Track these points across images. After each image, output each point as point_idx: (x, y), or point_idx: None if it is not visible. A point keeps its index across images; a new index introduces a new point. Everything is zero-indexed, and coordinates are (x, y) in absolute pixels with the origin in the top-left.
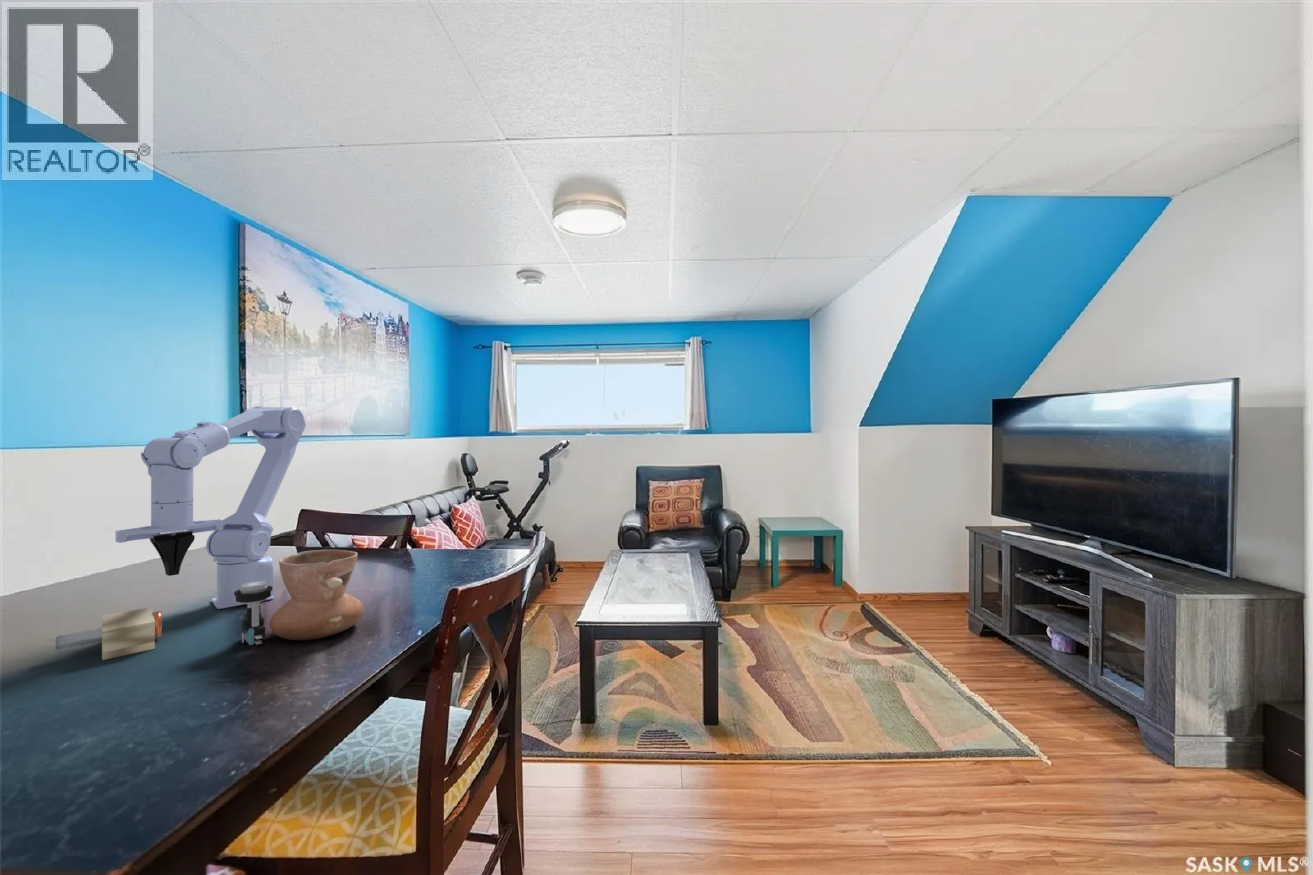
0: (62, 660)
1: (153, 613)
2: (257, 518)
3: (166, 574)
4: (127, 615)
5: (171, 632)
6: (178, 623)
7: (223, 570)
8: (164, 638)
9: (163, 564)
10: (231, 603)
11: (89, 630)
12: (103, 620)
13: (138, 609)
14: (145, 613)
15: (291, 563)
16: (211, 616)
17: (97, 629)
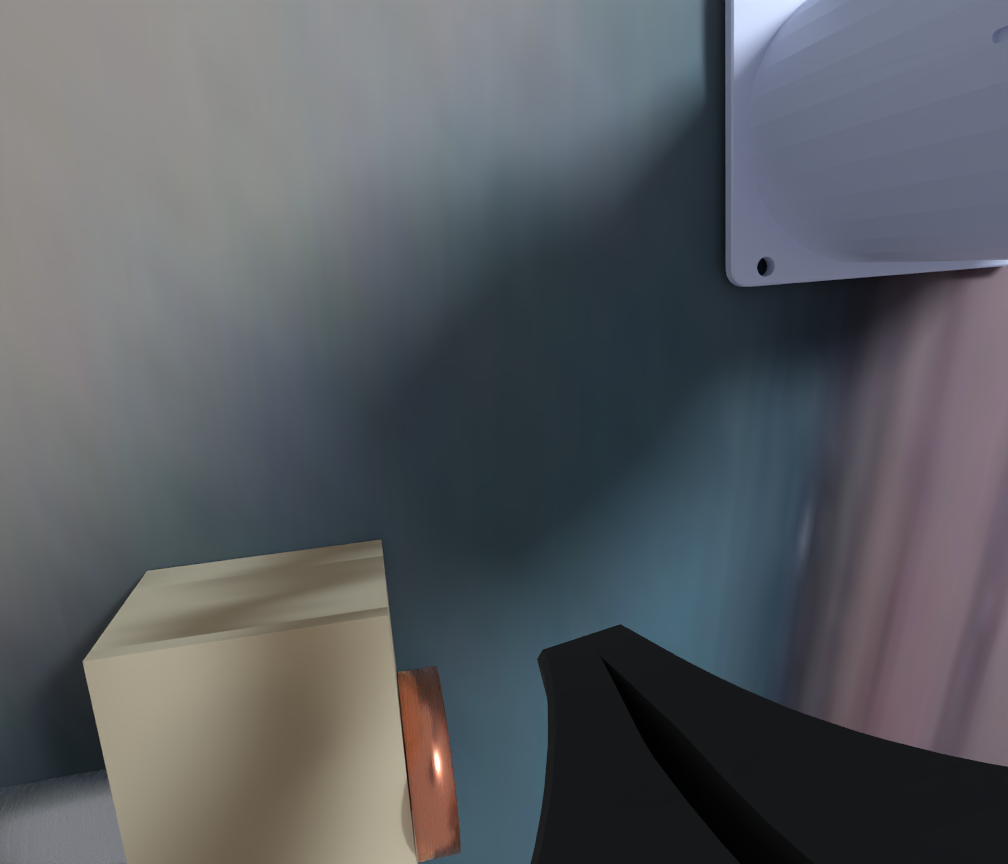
0: None
1: (417, 844)
2: None
3: (544, 682)
4: (260, 761)
5: (481, 609)
6: (515, 440)
7: (992, 182)
8: (451, 700)
9: (548, 714)
10: (814, 249)
11: (72, 861)
12: (123, 805)
13: (314, 635)
14: (368, 779)
15: None
16: (679, 408)
17: (118, 860)
